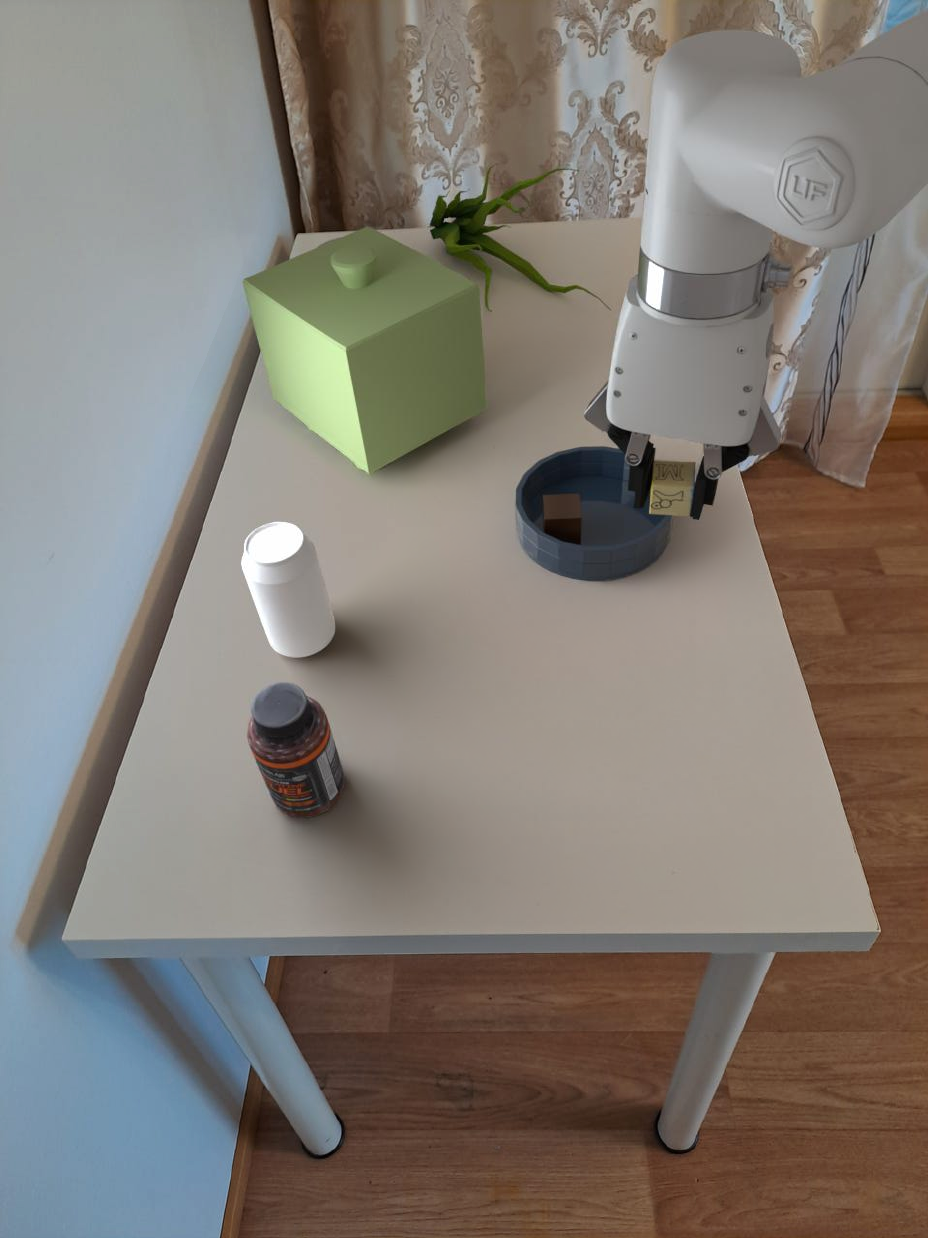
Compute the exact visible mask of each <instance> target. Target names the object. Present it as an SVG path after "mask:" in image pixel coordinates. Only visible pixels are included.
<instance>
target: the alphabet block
mask: <svg viewBox="0 0 928 1238" xmlns="http://www.w3.org/2000/svg"><path fill="white" fill-rule="evenodd" d="M695 481H696V461H678V460H677V461H676V460H657V459H654V461H653V470H652V480H651V492H650V508H649V514H658V515H675V516H677V517H678V516H680V517H690V513H691V507H692V500H693V494H694V488H695Z"/></svg>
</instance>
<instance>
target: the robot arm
mask: <svg viewBox="0 0 928 1238" xmlns="http://www.w3.org/2000/svg"><path fill="white" fill-rule="evenodd" d="M650 100H651V101H650V113H649V124H648V138H647V150H646V151H647V152H646V162H645V174H644V175H645V177H644V188H643V189H644V190H643V205H642V218H641V230H640V231H641V232H640V241H639V242H640V244H639V252H638V253H639V255H638V265H637V267H638V268H637V274H635V275H634V276H633V277H631V278H630V280H629V282H628V285H627V287H626V291H625V295H624V298H623V301H622V305H621V309H620V313H619V317H618V321H617V327H616V330H615V336H614V343H613V348H612V354H611V361H610V369H609V375H608V380H607V381H606V382H605V384H604V385H603V386H602V387H601V388H600V390H599V391H598V392H596V394H595V395H594V396H593V398H592V399H591V400H590V402H589V403H588V405H587V407H586V409H585V411H584V413H583V417H584V420H586V421H587V422H588V423H589V424H591V425H593V426H594V427H595V428H597V429H598V430H600V431H601V432H602V433H604V432H605V433H607V436H608V438H609V439H610V440H611V442H612V443H613V444H614V445H615V446H617V449H620V450H621V451H622V452H623V453H624V454H625V461H626V462H627V463H628V464H629V465H630V469H629V480H628V491H632V492H635V497H634V508H635V509H641V508H644V505H645V502H646V500H647V497H648V494H649V491H650V488H651V480H652V470H653V461H655V460H656V459H655V458H656V449H657V448H656V447H654V445H655V444H654V443H653V442H651V441H650V439H651V436H656V437H662V438H667V439H668V438H669V439H674V440H681V441H687V442H693V443H698V444H702V445H703V447H702V448H703V455H702V458H701V460H700V464H699V468H698V470H697V474H696V476H695V488H694V494H693V500H692V507H691V513H690V516H689V517H690V518H692V520H694V521H695V520H696V521H700V520H701V516H702V513H703V509H704V506H711V507H713V506H714V502H715V498H716V495H717V490H718V484H719V479H720V478H721V477H722V475H723V473H724V472H726V471H728V470H730V469H731V468H733V467H736V466H737V465H739V464H741V463H742V462H745V461H746V460H747V459H748V458H749V457H752V456H753V457H756V456H760V455H763V454H764V455H765V454H767V453H771V452H774V451H776V450H778V449H779V447H780V444H781V439H782V436H783V435H782V431H781V429H780V427H779V425H778V423H777V421H776V419H775V416H774V414H773V412H772V410H771V408H770V406H769V403H768V402H767V400H766V398H765V393H766V387H767V382H768V375H769V370H770V369H769V368H770V362H771V356H772V355H771V354H772V347H773V338H774V328H775V327H774V325H775V299H774V296H775V295H774V292H773V290H772V289H775V287H782V288H788V286H789V281H790V278H791V273H792V268H793V263H789V262H781V260H780V259H775V253H772V252H771V249H772V248H771V247H772V238H773V233H774V232H775V233H777V234H779V235H781V236H783V237H785V238H787V239H789V240H791V241H794V242H797V243H799V244H802V245H805V246H809V247H813V248H817V249H828V250H829V249H830V250H833V249H842V248H847V247H852V246H854V245H857V244H860V243H861V242H863V241H866V240H867V239H869V238H871V237H873V236H874V235H875V234H877V233H878V232H880V231H881V230H882V229H883V228H885V227H886V226H887V225H888V224H889V223H890V222H891V221H892V220H893V219H894V218H895V217H896V216H898V214H899V213H901V211H902V210H903V209H904V208H905V207H906V206H908V205H909V204H910V203H911V201H913V200H914V199H915V198H916V196H918V195H919V193H920V192H921V191H922V190H924V188H925V187H926V186H927V185H928V8H926V9H924V10H922V11H921V12H919V13H917V14H914V15H912V16H911V17H909V18H907V19H905V20H904V21H901V22H900V23H898V24H897V25H894V26H893V27H891V28H890V29H888V30H886V31H885V32H883V33H881V34H880V35H877V36H876V37H875V38H874V39H872V40H871V41H869V42H867V43H866V44H865V45H863V46H861V47H860V48H858V49H857V50H856V51H855V52H853V53H852V54H850V55H849V56H848V57H846V58H845V59H844V60H842V61H841V62H840V63H838V64H837V65H836V66H833V67H830V68H827V69H824V70H821V71H819V72H815V73H813V74H809V75H806V76H802V65H801V61H800V58H799V55H798V53H797V51H796V49H794V48H793V46H792V45H791V44H789V43H788V42H787V41H785V40H784V39H782V38H780V37H777V36H775V35H772V34H769V33H765V32H760V31H756V30H746V29H720V30H712V31H705V32H701V33H698V34H694V35H691V36H688V37H685V38H682V39H680V40H678V41H676V42H675V43H674V44H672V45H671V46H670V47H669V48H667V50H666V51H665V52H664V53H663V54H662V56H661V58H660V60H659V61H658V63H657V65H656V68H655V70H654V75H653V81H652V90H651V99H650Z"/></svg>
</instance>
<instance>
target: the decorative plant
mask: <svg viewBox="0 0 928 1238" xmlns="http://www.w3.org/2000/svg"><path fill="white" fill-rule="evenodd" d="M498 165H499V163H495V164H493V165H491V166H490V167H489V168H488V170H487V172H486V176H485V180H484V185H483V188H482V193H481V194H480V195H478V196H476V197H472V198H470V197H469V198H464V199H462V200H461V194H463V193H467V192H468V191H469V189H467V190H466V191H465V190H459V192H457V193H456V195H455V196H454V199H452V200H451V201H450V202H449V203H447V202H446V200H445V199H444V198H447V197H448V195H449V193H450V191H448V192H447V193H446V195H441V194H440V195H439V194H438V195H437V198H436V201H435V206H434V209H433V211H432V217H431V219H430V222H429V226H430V227H433V228H431V229H430V230H429V233H430V234H431V237H432V240H438V239H441V241H442V242H443V243H444V244H445V247H446V254H447V255H449V256H451V257H453V258H456V259H457V260H461V261H464V262H465V263H468V264H470V265H472V266H473V267H474V268H476V270H478V271H480V272H481V273H482V274H484V275H485V287H484V304H485V307H486V308H487V310H488V311H489V312H491V313H492V312H493V310H491V309H490V307H489V302H488V301H489V299H488V298H489V293H490V286H491V278H492V271H493V270H492V269H491V267H490V266H489V265H488V264H487V263H486V261H485V260H484V258H483V257H481V256H479V255H478V254H476V253H474V252H473V251H478V252H484V253H486V254H488V255H491V256H493V257H495V258H497V259H500V260H501V261H503V262H504V263H506V264H507V265H508V266H509V267H511V268H512V269H514V270H516V271H517V272H519V273H520V274H522V275H523V276H525V277H526V278H527V279H529V280H530V281H532V282H533V283H535V284H537V285H538V286H539V287H541V288H543V290H546V291H547V292H549V293H558V294H567V293H569V292H572V291H573V290H576V289H577V290H581V291H583V292H586V293H587V294H589V295H591V296H592V297H594V298H596V299H598V300H599V301H600V302H601V303H602V304H603V305H604V306H605V307H606V308H607V309H608V310H609V311H611V310H612V309H611V308H610V307H609V306H608V305H607V304H606V303H605V302H604V301H603V300H602V299H601V298H600V297H598V296H597V295H596V294H594V293H592V292H591V291H590V290H588V289H587V288H585V287H584V286H583V287H582V286H580V285H578V284H572V285H567V286H564V285H557V284H551V283H549V281H548V280H547V279H545V278H544V276H542V274H541V273H540V272H539V271H538V270H537V269H536V268H535V266H533V265H532V263H530V262H529V261H527V260H526V259H524V258H523V257H521V256H520V255H518V254H517V253H516V252H515V253H514V252H513V251H512V250H510V249H508V247H506V246H504V245H502V244H501V243H499V242H498V241H497V240H495V239H494V238H492V237H491V236H489V235H487V233H491V232H495V231H498V230H500V229H503V228H504V227H508V228H510V229H512V227H511V226H509V225H507V224H503V225H499V226H496V225H485V224H486V221H487V218H488V216H490V215H493V214H496V213H497V212H498V211H499V210H500V209H501V208H502V206H504V207H506V208H507V209H509V210H510V211H511V212H512V213H514V214H522V213H524V211H526V210H527V209H528V208H529V206H530V205H531V203H532V202H533V200H534V198H531V200H530V202H529V203H528V204H527V206H526V207H525V208H523V209H521V210H519V209H515V207H514V206H513V205H512V204H511V203H510V202H509V200H511V198H514V196H515V195H517V194H518V193H519V192H520V191H522V190H524V189H527V188H530V187H532V186H534V185H536V184H539V183H540V182H541V181H543V180H544V179H546V178H547V177H549V176H550V175H552V174H554V173H556V172H558V171H559V172H561V171H569V170H570V171H575V172H580V170H579V169H573V168H561V167H560V168H555V169H552V170H550V171H547V172H545V173H543V174H542V175H539V176H537V177H534V178H530V179H525V180H521V181H519V182H517V183H516V184H514V185H513V186H511V187H510V188H507V189H506V190H505V191H504V192H503V193H502V194H501V195H500V196H497V197H495V198H494V199H491V200H489V201H486V200H487V193H488V185H489V178H490V177H489V176H490V172H491V169H493V168H494V167H495V166H498ZM449 218H450V219H454V220H453V221H451V222H449V221H445V220H446V219H449ZM471 250H473V251H471Z"/></svg>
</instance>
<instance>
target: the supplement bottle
mask: <svg viewBox="0 0 928 1238" xmlns="http://www.w3.org/2000/svg"><path fill="white" fill-rule="evenodd" d="M250 712H251V716H250V719H249V721H248V723H247V729H246V730H247V731H246V737H247V741H248V747H249V749H250V750H251V753H252V755H253V758H254V760H255V763H256V765H257V768H258V769H259V772H260V774H261V777H262V780H263V781H264V784H265V786H266V788H267V791H268V793H269V796H270V797H271V800H272V802H273V803H274V805H275V806H276V807H277V808H278V810H280V811H281V812H282V813H284V814H286V815H288V816H291V817H294V818H310V817H315V816H318V815H320V814H323V813H325V812H326V811H328V810H329V809H330V808H332V807H333V806H334V805H335V804H336V803H337V801H338V800H339V799H340V797H341V796H342V793H343V791H344V787H345V774H344V770H343V765H342V762H341V759H340V757H339V752H338V748H337V746H336V741H335V739H334V736H333V732H332V729H331V725H330V723H329V719H328V716H327V713H326V712H325V709H324V708H323V707H322V705H321V704H320V703H319V702H318V701H317V700H316V699H314V698H312V697H311V696H308V695H307V694H306V693H305V691H304V689H302V688H301V687H300V686H299V685H297V684H295V683H293V682H288V681H287V682H286V681H285V682H284V681H283V682H282V681H281V682H275V683H272V684H270V685H267V686H266V687H264V688H262V689H261V690H260V691H259V692H258V693H257V694H256V695H255V697H254V698H253V700H252V702H251V707H250Z"/></svg>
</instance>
